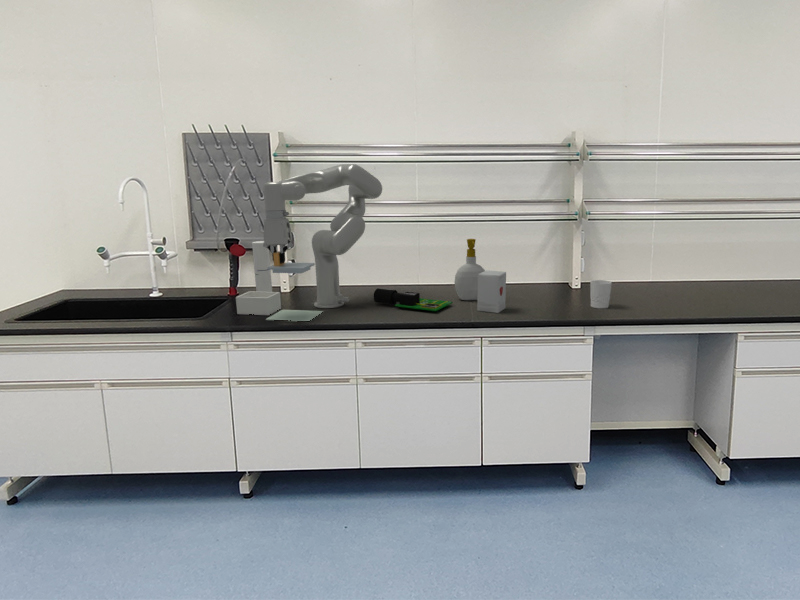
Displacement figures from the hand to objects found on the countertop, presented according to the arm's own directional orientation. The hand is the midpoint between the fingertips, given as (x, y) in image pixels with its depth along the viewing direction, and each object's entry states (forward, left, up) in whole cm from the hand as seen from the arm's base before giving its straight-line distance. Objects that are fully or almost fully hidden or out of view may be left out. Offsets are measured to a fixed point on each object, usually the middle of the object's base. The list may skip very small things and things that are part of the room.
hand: (279, 262), depth 215 cm
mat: (-5, 0, -21) cm, 22 cm away
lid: (-5, 0, -3) cm, 6 cm away
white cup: (-122, -32, -21) cm, 128 cm away
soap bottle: (-70, -37, -21) cm, 82 cm away
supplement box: (-80, -21, -21) cm, 86 cm away
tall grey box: (+24, -31, -21) cm, 45 cm away
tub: (+13, -5, -21) cm, 25 cm away
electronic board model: (-47, -23, -22) cm, 57 cm away
